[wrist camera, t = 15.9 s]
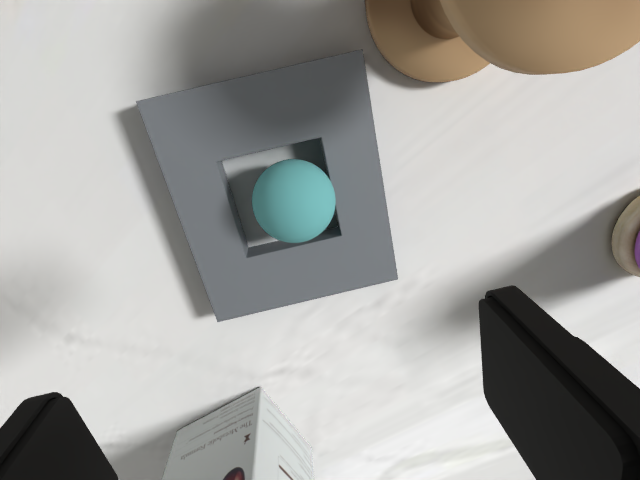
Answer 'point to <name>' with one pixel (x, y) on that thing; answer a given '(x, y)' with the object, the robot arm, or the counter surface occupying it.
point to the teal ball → (293, 201)
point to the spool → (500, 35)
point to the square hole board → (262, 134)
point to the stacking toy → (628, 238)
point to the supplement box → (241, 445)
